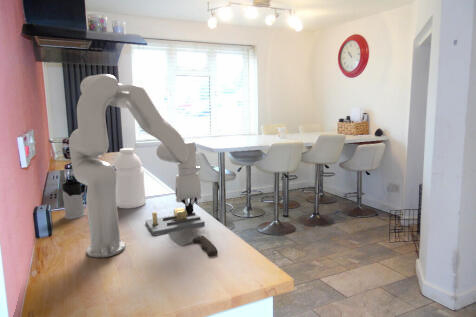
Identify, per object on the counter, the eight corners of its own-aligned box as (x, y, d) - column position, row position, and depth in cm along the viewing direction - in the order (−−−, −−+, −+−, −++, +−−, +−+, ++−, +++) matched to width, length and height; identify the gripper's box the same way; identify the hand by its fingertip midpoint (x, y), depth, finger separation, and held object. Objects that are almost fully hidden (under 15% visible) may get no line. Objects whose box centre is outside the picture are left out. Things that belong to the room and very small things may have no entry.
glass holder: (62, 215, 160) (58, 183, 157) (94, 208, 169) (90, 178, 166) (67, 220, 153) (63, 187, 150) (100, 212, 162) (97, 181, 159)
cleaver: (224, 253, 117) (223, 247, 117) (198, 261, 112) (197, 255, 112) (186, 228, 142) (185, 223, 141) (163, 234, 136) (162, 229, 136)
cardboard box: (187, 220, 144) (186, 210, 143) (177, 221, 142) (177, 212, 142) (183, 216, 148) (182, 207, 148) (174, 218, 147) (173, 208, 146)
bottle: (130, 199, 183) (126, 146, 178) (151, 202, 177) (147, 147, 172) (110, 207, 170) (105, 150, 165) (132, 210, 164) (127, 151, 159)
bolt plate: (204, 225, 143) (204, 209, 142) (153, 235, 134) (152, 219, 133) (193, 215, 155) (192, 201, 154) (145, 223, 146) (144, 208, 145)
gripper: (201, 167, 150) (203, 208, 153) (167, 171, 144) (169, 214, 147) (207, 170, 143) (209, 213, 147) (172, 175, 137) (174, 219, 140)
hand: (189, 213), depth 147 cm, fingers closed
